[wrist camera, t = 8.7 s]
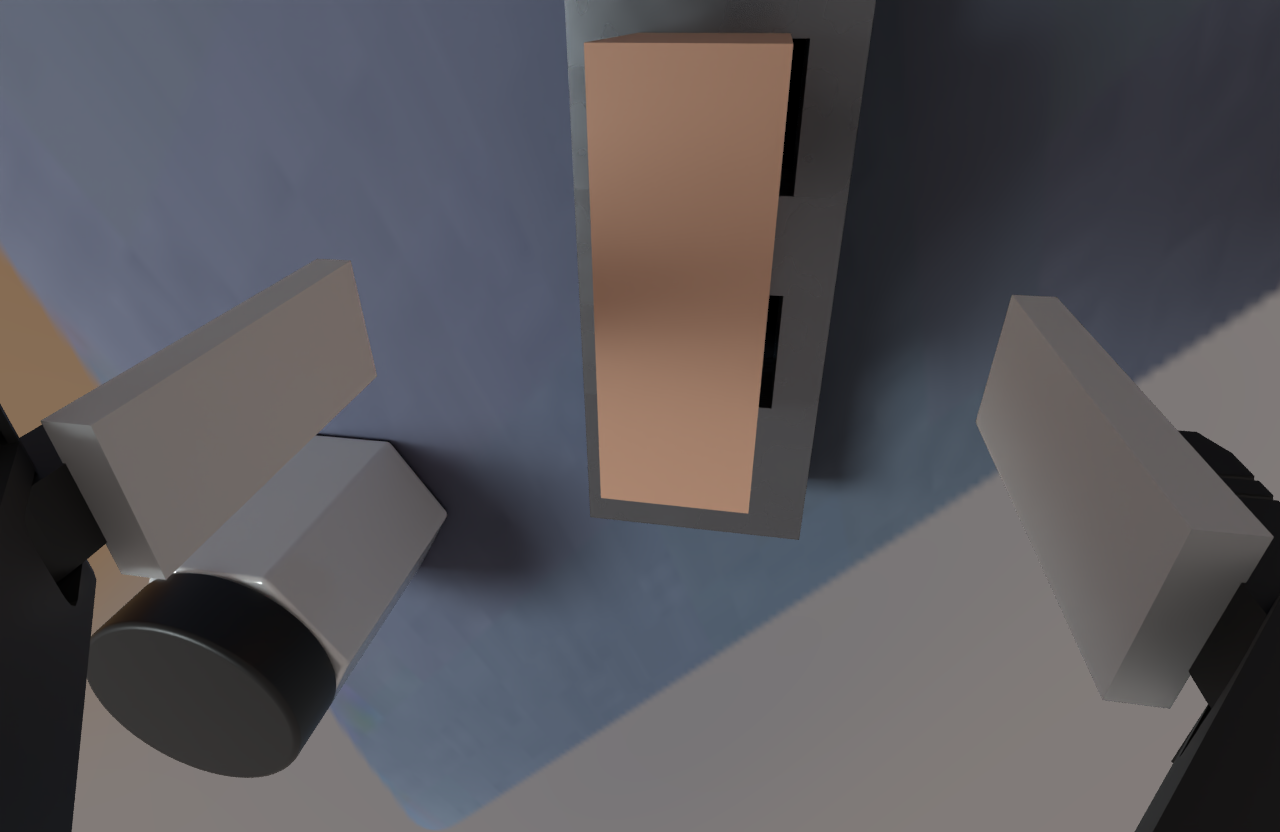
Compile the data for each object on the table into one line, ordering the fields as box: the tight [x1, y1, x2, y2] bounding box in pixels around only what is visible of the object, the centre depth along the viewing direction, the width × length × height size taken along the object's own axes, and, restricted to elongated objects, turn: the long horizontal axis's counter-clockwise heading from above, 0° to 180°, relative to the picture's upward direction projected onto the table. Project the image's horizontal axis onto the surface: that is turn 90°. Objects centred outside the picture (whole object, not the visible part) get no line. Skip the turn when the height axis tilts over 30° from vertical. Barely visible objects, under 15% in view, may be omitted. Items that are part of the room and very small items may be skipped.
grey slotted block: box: [565, 0, 876, 540], centre depth 23 cm, size 22×8×4 cm, turn 0°
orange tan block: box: [584, 33, 793, 514], centre depth 20 cm, size 11×4×10 cm, turn 0°
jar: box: [87, 435, 447, 778], centre depth 30 cm, size 9×8×12 cm
